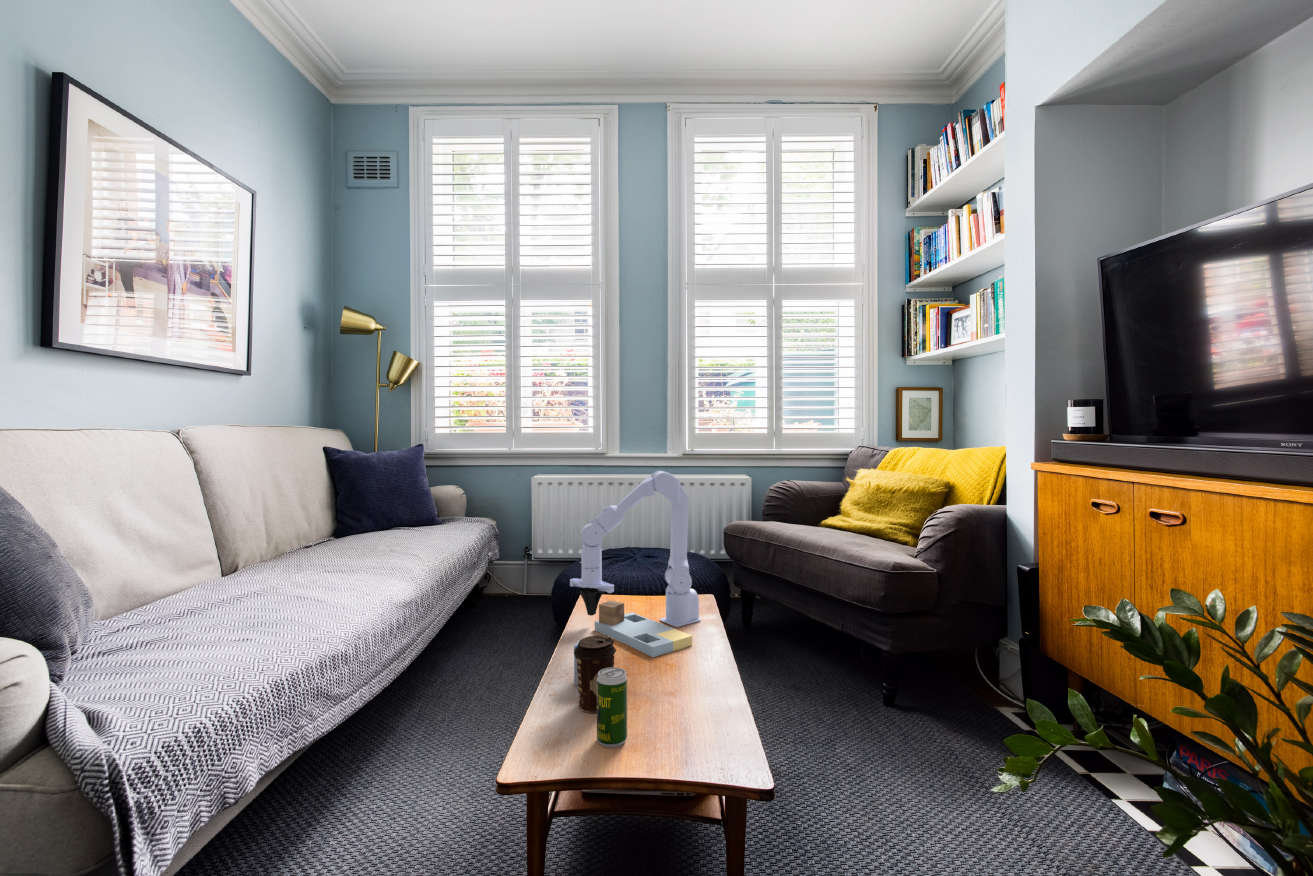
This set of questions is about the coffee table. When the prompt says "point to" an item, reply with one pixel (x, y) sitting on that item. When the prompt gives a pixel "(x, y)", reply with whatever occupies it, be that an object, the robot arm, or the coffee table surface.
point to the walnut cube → (611, 612)
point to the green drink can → (611, 707)
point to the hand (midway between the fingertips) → (591, 614)
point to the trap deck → (646, 635)
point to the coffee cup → (592, 667)
